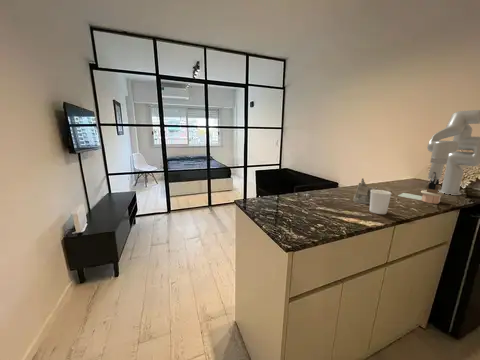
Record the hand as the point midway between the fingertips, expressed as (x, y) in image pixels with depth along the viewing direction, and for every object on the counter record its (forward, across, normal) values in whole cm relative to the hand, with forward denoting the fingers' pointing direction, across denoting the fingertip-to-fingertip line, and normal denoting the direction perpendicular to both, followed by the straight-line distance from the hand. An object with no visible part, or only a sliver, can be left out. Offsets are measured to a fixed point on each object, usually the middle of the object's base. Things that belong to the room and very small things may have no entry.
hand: (433, 188), depth 133 cm
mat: (+10, -5, -11) cm, 16 cm away
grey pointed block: (+10, +29, -27) cm, 41 cm away
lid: (+4, 0, 0) cm, 4 cm away
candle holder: (+10, +46, -14) cm, 49 cm away
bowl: (+10, 0, 0) cm, 10 cm away
